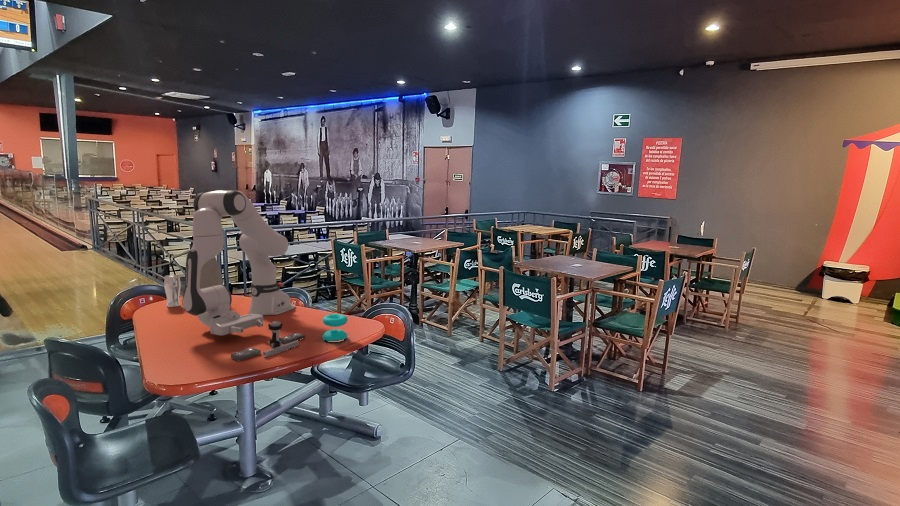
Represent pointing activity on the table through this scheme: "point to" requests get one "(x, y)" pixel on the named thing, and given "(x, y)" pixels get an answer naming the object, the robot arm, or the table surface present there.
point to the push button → (275, 333)
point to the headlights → (289, 343)
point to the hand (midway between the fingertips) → (251, 327)
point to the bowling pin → (210, 274)
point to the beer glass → (172, 290)
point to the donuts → (335, 321)
